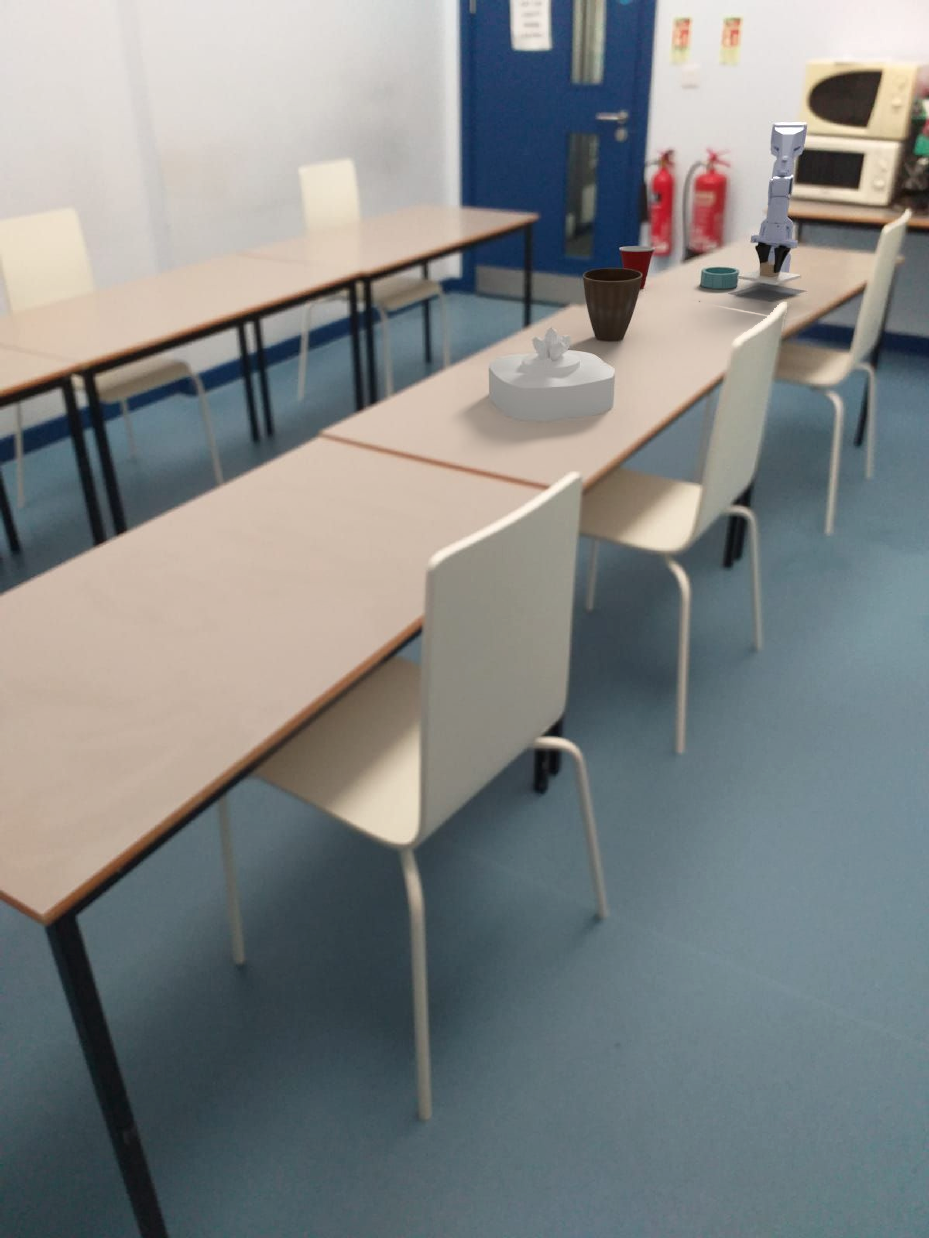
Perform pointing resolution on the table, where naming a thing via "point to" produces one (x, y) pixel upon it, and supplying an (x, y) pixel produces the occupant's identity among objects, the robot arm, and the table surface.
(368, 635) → the table surface
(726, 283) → the bowl
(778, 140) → the robot arm
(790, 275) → the lid
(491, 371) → the tissue box
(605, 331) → the plant pot
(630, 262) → the plastic cup
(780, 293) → the mat
